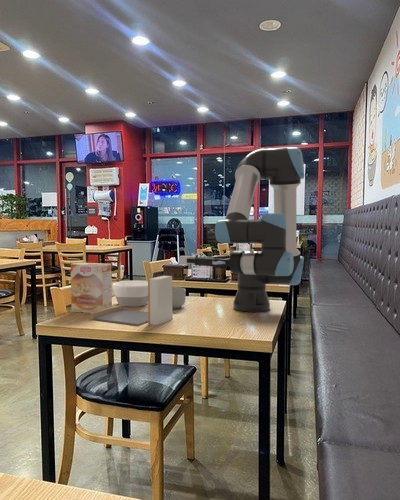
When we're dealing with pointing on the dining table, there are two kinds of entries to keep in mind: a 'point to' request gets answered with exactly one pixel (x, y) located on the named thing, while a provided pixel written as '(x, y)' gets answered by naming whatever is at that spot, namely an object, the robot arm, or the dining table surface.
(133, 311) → the slate board
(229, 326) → the dining table surface
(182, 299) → the teacup
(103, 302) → the coffeecake box
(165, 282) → the tile
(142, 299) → the bowl
